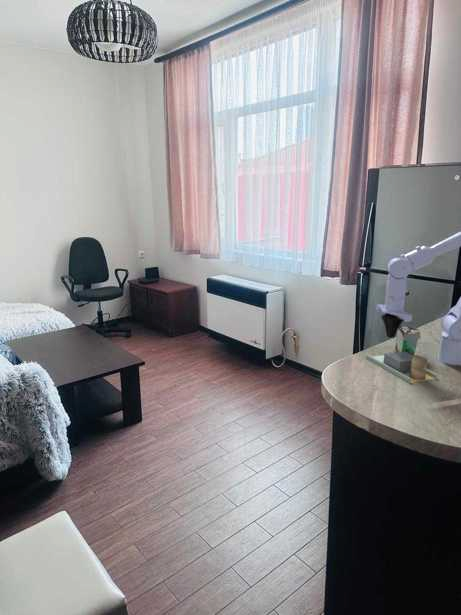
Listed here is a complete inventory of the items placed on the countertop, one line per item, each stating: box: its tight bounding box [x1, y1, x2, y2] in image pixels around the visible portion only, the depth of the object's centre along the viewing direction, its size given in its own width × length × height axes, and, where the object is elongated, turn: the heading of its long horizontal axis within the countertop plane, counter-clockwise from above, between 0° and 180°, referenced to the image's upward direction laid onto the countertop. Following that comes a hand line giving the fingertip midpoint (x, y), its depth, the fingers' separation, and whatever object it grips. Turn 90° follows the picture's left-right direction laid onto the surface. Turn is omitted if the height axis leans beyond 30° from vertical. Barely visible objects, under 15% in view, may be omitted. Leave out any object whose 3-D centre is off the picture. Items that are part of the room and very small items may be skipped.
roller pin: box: [410, 354, 428, 380], centre depth 122 cm, size 4×4×6 cm
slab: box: [383, 351, 413, 374], centre depth 129 cm, size 8×7×4 cm
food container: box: [394, 323, 421, 356], centre depth 140 cm, size 12×6×10 cm, turn 169°
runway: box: [364, 350, 438, 384], centre depth 130 cm, size 10×20×2 cm, turn 19°
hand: (390, 336), depth 138 cm, fingers closed
